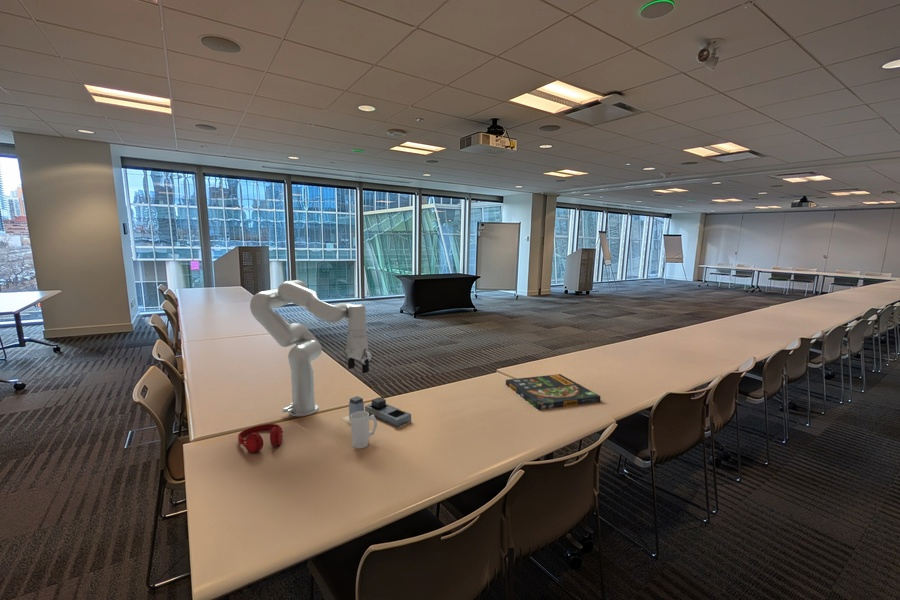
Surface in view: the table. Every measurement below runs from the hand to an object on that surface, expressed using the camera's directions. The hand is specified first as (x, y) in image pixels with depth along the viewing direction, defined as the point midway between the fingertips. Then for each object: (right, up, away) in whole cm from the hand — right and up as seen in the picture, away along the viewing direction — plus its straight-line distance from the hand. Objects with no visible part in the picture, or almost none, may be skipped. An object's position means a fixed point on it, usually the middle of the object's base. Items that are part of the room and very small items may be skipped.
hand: (358, 370), depth 167 cm
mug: (+8, -25, -22) cm, 34 cm away
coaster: (-1, -21, -1) cm, 21 cm away
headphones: (-33, -24, -20) cm, 46 cm away
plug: (-1, -21, -1) cm, 21 cm away
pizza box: (+94, -19, +32) cm, 101 cm away
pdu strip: (+13, -21, +1) cm, 25 cm away
